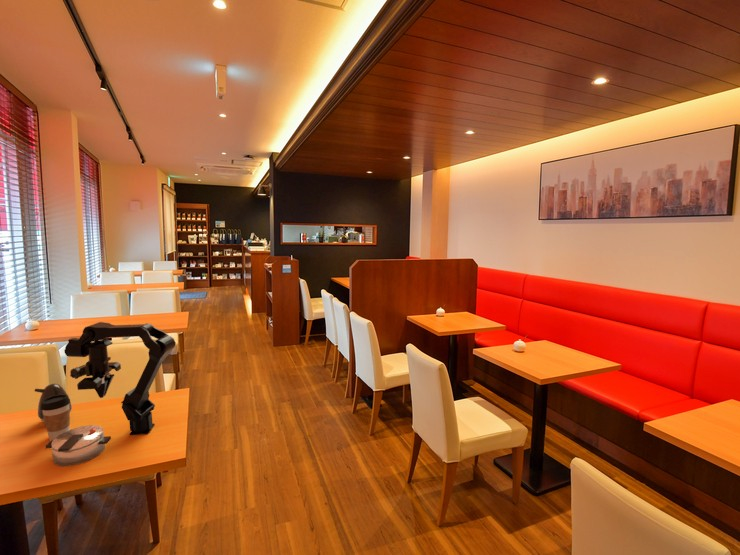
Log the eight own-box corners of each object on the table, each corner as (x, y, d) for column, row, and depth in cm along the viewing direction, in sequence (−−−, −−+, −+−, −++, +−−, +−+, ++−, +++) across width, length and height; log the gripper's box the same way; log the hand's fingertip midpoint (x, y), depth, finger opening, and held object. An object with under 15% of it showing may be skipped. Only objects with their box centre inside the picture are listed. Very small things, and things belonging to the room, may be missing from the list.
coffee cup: (57, 444, 134) (52, 404, 132) (38, 441, 136) (33, 402, 133) (80, 431, 142) (75, 393, 140) (61, 428, 144) (56, 391, 142)
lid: (111, 426, 137) (110, 421, 136) (88, 451, 122) (87, 446, 122) (68, 429, 134) (67, 424, 134) (39, 455, 120) (38, 450, 119)
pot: (119, 438, 138) (118, 426, 137) (99, 463, 124) (97, 449, 123) (62, 443, 135) (61, 430, 134) (35, 468, 121) (33, 454, 120)
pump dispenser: (42, 417, 151) (37, 381, 149) (74, 411, 156) (70, 376, 154) (35, 430, 142) (30, 392, 140) (70, 423, 148) (65, 386, 145)
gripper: (88, 349, 147) (92, 387, 150) (57, 368, 129) (63, 410, 132) (119, 348, 149) (123, 385, 152) (93, 366, 131) (98, 408, 134)
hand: (102, 396), depth 142 cm, fingers closed
